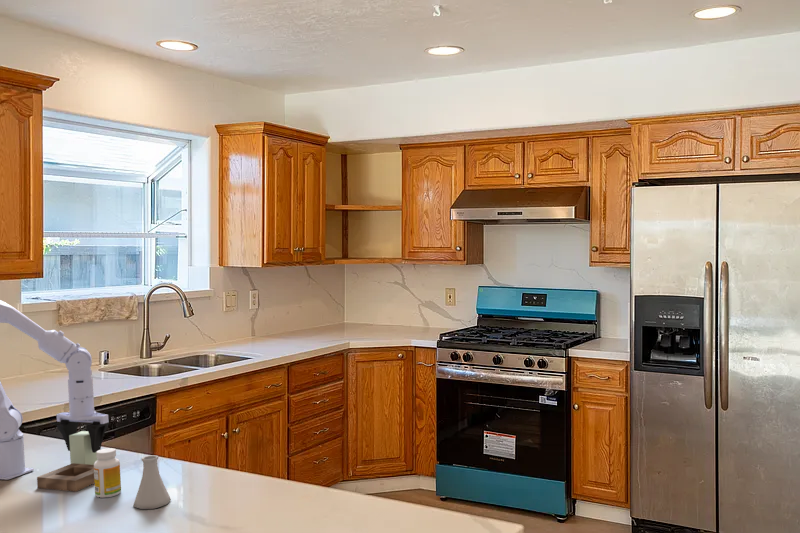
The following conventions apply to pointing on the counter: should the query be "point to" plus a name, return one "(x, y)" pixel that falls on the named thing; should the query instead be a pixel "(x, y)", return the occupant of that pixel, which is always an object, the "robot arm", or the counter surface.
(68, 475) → the socket
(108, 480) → the supplement bottle
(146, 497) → the flask
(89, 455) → the peg
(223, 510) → the counter surface
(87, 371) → the robot arm
